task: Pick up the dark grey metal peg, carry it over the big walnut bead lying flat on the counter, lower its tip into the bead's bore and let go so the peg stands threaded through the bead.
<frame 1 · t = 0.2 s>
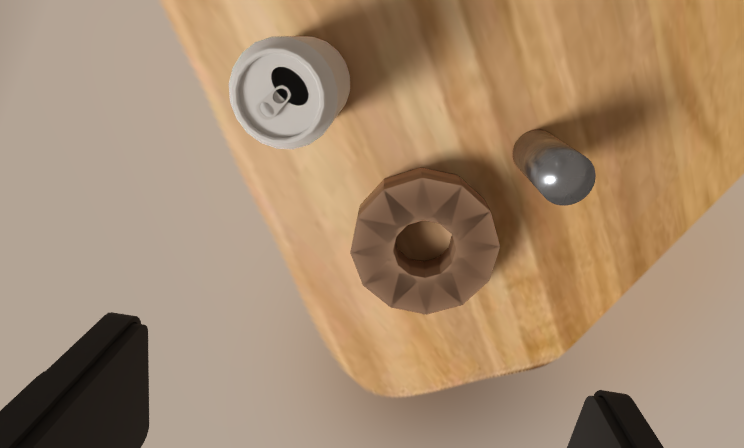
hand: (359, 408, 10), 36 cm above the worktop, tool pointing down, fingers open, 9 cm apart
bead: (422, 235, 48), on the worktop
peg: (535, 151, 44), on the worktop
can: (309, 81, 43), on the worktop
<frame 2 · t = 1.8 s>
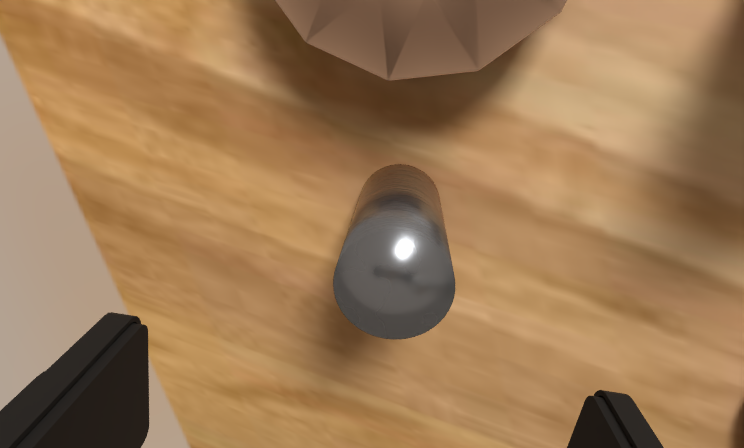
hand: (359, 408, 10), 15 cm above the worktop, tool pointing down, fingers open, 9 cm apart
peg: (399, 203, 25), on the worktop
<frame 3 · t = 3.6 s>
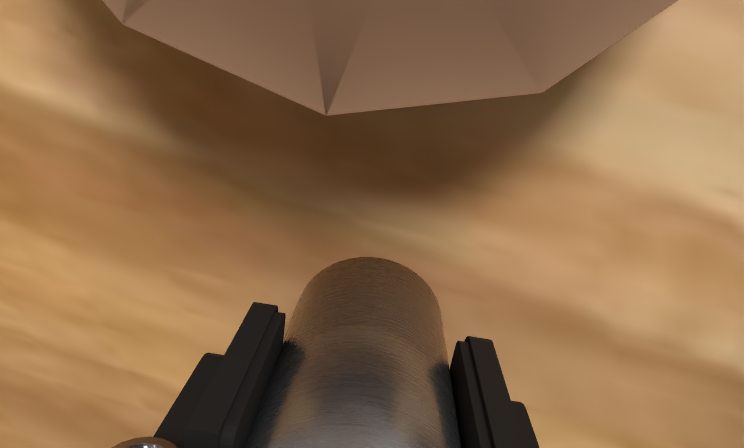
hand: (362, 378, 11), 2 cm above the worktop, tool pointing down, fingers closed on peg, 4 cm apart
peg: (368, 323, 14), on the worktop, touching gripper
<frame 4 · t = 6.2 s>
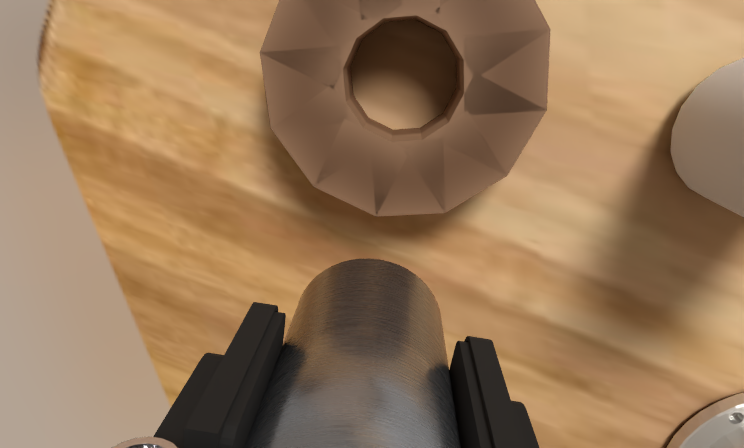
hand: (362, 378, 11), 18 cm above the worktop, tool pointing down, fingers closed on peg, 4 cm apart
bead: (403, 76, 26), on the worktop
peg: (368, 324, 14), point 15 cm above the worktop, touching gripper
can: (734, 128, 26), on the worktop
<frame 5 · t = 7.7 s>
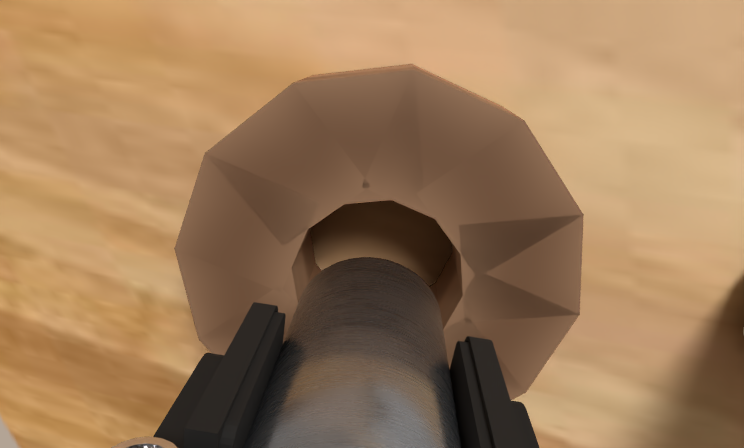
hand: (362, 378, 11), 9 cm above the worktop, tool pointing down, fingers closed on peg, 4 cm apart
bead: (381, 241, 19), on the worktop
peg: (368, 323, 14), point 6 cm above the worktop, touching gripper
when the fingers open (4 cm above the worktop, at t = 8.8 s): peg drops 2 cm, resting in bead.
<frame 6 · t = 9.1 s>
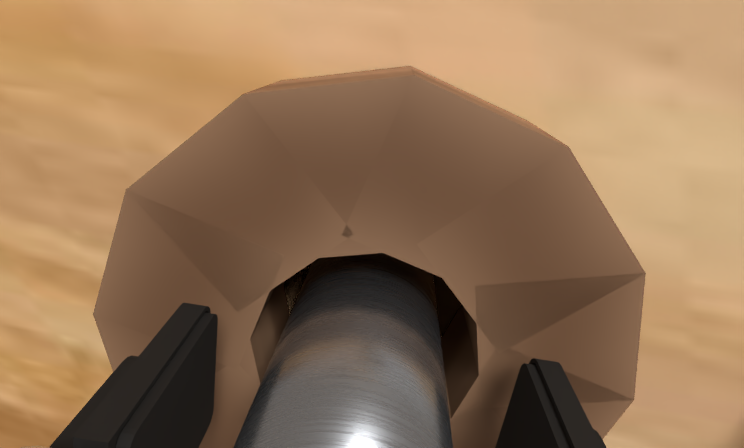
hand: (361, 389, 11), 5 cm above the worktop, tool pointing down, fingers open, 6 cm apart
bead: (371, 289, 15), on the worktop
peg: (370, 290, 15), resting in bead
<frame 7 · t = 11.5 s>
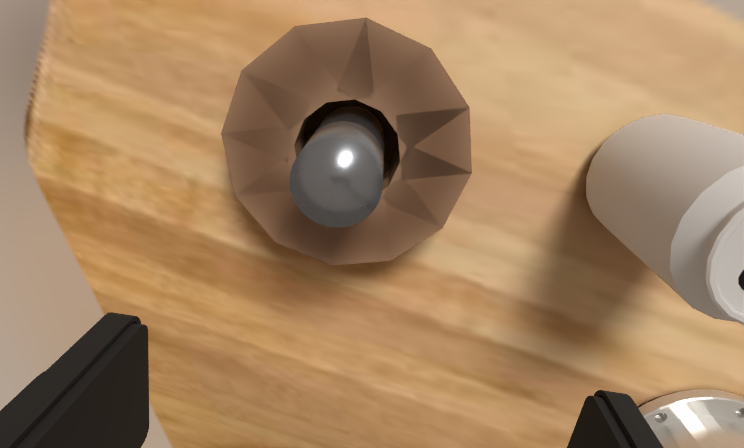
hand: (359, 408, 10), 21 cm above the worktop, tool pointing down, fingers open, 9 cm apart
bead: (351, 139, 29), on the worktop
peg: (351, 139, 29), resting in bead
can: (642, 173, 30), on the worktop
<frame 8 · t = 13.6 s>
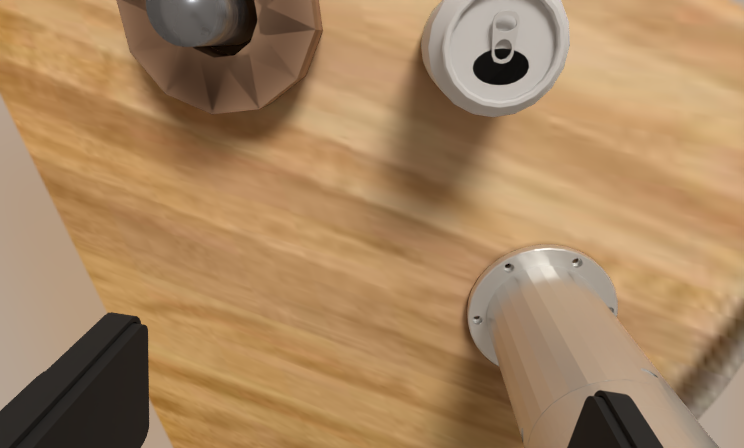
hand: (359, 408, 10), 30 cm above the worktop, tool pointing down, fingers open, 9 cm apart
bead: (232, 15, 36), on the worktop
peg: (231, 15, 36), resting in bead
can: (471, 44, 36), on the worktop
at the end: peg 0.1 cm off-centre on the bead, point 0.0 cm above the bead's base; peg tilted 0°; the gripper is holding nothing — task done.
